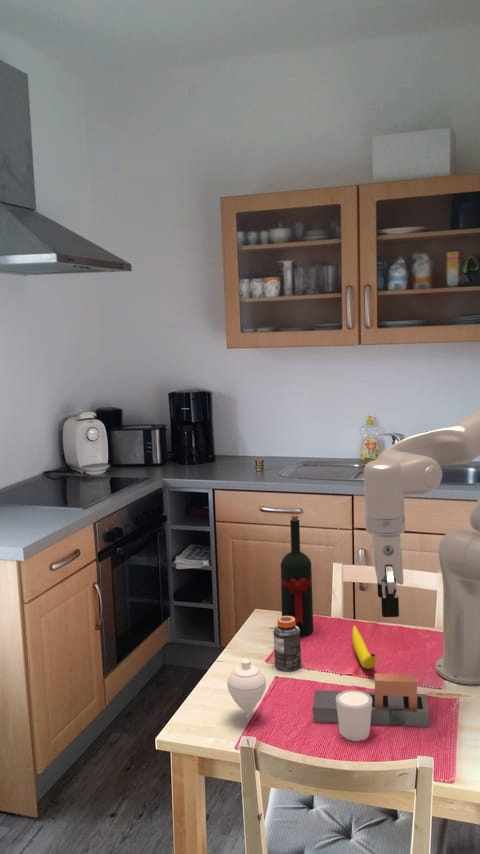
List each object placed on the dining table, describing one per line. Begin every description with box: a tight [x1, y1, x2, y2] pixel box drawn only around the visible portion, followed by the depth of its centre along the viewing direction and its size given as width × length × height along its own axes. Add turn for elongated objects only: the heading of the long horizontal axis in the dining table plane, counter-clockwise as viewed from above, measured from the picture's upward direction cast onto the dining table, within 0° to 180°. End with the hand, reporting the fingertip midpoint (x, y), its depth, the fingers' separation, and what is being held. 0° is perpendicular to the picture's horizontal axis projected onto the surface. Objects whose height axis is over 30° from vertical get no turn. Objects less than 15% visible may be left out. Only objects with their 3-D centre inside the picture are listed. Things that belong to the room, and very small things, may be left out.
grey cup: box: [336, 689, 372, 742], centre depth 142 cm, size 7×7×7 cm
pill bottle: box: [273, 615, 302, 672], centre depth 170 cm, size 6×6×11 cm
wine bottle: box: [280, 514, 314, 638], centre depth 187 cm, size 8×10×30 cm
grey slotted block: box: [312, 689, 430, 728], centre depth 149 cm, size 22×7×3 cm, turn 81°
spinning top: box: [226, 658, 267, 719], centre depth 149 cm, size 8×8×12 cm
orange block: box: [374, 673, 418, 709], centre depth 148 cm, size 8×3×8 cm, turn 81°
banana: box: [351, 624, 377, 670], centre depth 171 cm, size 3×19×6 cm, turn 4°
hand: (388, 606), depth 150 cm, fingers open, 9 cm apart
